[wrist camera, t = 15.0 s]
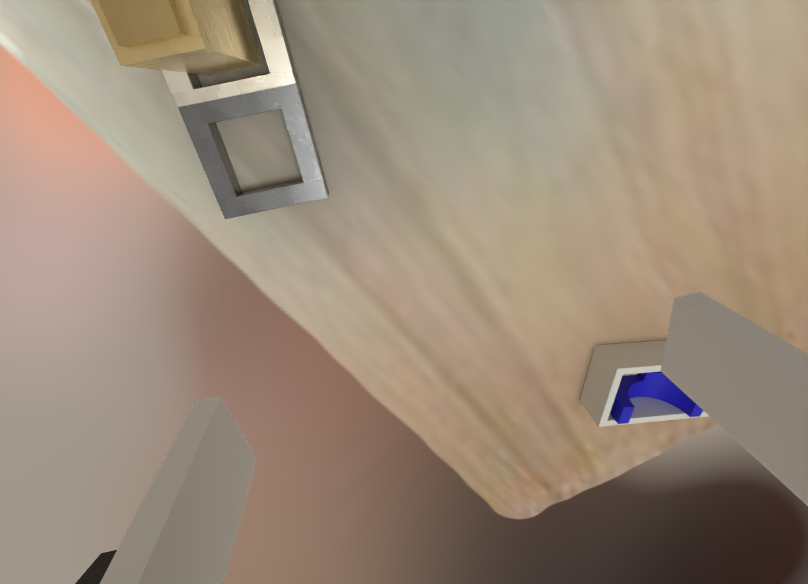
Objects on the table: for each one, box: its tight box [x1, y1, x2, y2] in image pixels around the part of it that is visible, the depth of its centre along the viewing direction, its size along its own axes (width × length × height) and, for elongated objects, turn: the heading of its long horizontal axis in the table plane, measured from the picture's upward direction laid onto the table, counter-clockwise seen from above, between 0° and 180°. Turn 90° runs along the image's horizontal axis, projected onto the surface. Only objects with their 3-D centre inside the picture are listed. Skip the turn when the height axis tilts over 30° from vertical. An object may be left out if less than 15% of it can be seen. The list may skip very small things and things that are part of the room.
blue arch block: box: [610, 371, 703, 424], centre depth 53 cm, size 12×4×6 cm, turn 90°
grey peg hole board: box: [162, 0, 329, 219], centre depth 31 cm, size 28×10×2 cm, turn 10°
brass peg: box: [91, 0, 262, 75], centre depth 25 cm, size 5×5×15 cm
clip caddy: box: [580, 340, 709, 427], centre depth 53 cm, size 10×18×5 cm, turn 90°
